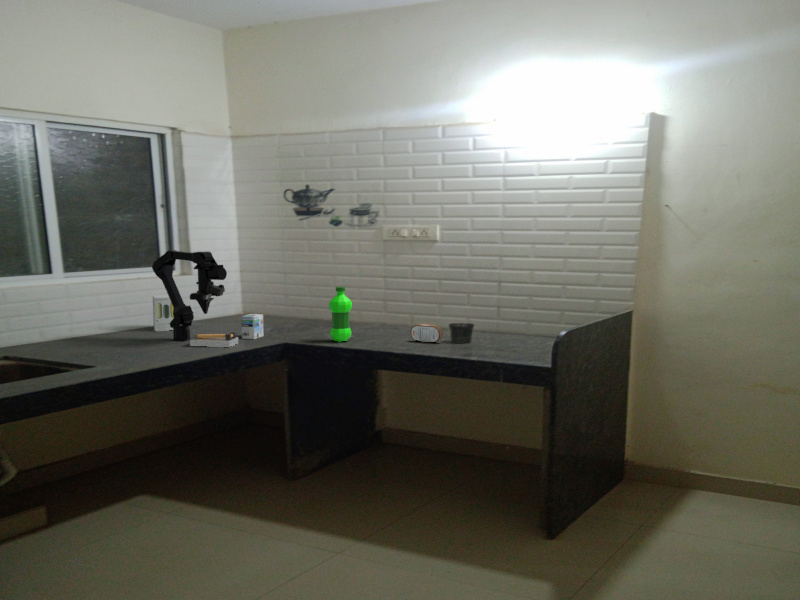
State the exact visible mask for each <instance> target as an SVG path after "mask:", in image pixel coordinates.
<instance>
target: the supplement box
mask: <svg viewBox="0 0 800 600" xmlns="http://www.w3.org/2000/svg"><path fill="white" fill-rule="evenodd" d="M173 309H174V307H173V305H172V303H171V300H170V298H169V296H168V294H154V295H153V294H152V311H153V312H152V317H153V331H154V332H155V331H156V332H170V331H169V330H173V328H171V327H170V322H171V321H172V320H173V318H174V316H173Z"/></svg>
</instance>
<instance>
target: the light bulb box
mask: <svg viewBox="0 0 800 600" xmlns="http://www.w3.org/2000/svg"><path fill="white" fill-rule="evenodd" d="M262 337H264V314H260V313H250V314H246V315H242V316H241V339H243V340H256V339H259V338H262Z"/></svg>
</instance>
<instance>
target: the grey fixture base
mask: <svg viewBox="0 0 800 600" xmlns="http://www.w3.org/2000/svg"><path fill="white" fill-rule="evenodd" d="M198 334H203V332H201V331H200V332H199V331H198V332H197V333H196V334H195V333H193V334H192V335H191V339H189V346H207V347H206V348H224V347H230V346H232V347H234V346H236V345H235V344H237V345H239V336H236V332H234V331H230V332H229V333H224V334H225V338H197V335H198ZM231 334H233V337H231ZM233 345H234V346H233ZM230 348H231V347H230Z"/></svg>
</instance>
